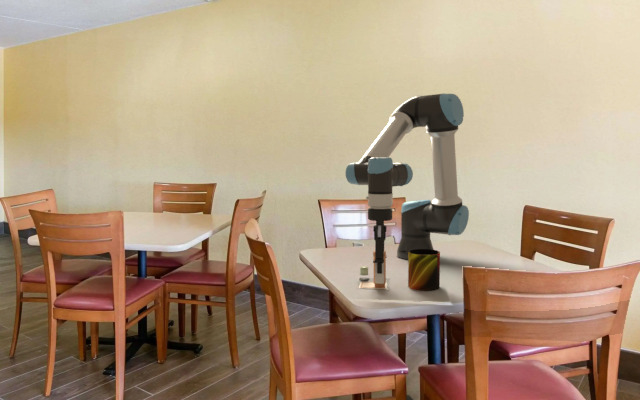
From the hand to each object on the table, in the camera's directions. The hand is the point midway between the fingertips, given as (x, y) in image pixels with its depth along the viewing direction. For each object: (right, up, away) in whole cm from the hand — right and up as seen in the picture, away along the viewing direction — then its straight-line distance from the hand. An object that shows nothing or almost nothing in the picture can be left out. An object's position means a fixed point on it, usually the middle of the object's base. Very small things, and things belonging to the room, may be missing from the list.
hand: (379, 280), depth 153 cm
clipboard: (-2, -2, +4) cm, 5 cm away
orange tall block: (0, -2, 0) cm, 2 cm away
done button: (-4, +1, +9) cm, 10 cm away
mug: (+12, -3, +1) cm, 13 cm away
